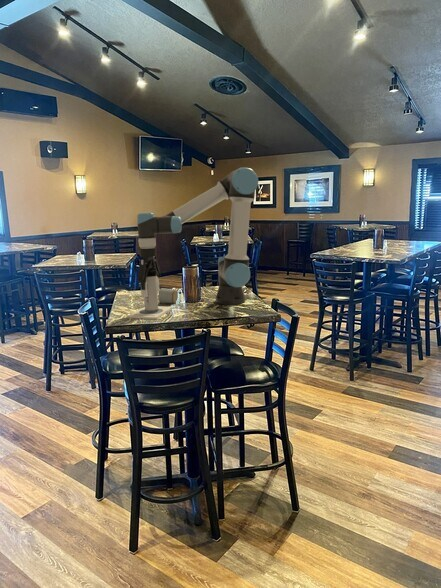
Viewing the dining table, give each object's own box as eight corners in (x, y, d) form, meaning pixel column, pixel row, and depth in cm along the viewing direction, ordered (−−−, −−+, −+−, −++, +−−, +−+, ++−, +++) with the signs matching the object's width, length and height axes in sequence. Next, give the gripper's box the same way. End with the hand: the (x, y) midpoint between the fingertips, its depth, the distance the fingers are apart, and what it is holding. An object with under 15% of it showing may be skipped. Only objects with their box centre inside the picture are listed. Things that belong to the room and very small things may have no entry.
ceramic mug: (173, 305, 218) (172, 289, 216) (158, 304, 220) (157, 289, 218) (180, 300, 228) (180, 286, 226) (166, 300, 230) (165, 285, 228)
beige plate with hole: (173, 308, 211) (173, 306, 210) (157, 319, 192) (156, 317, 192) (146, 307, 214) (146, 305, 214) (127, 317, 195) (127, 315, 195)
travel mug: (154, 308, 207) (152, 266, 203) (160, 311, 202) (158, 268, 198) (142, 310, 204) (140, 268, 200) (148, 313, 198) (146, 269, 194)
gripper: (151, 244, 209) (153, 288, 214) (127, 250, 186) (131, 299, 190) (165, 244, 208) (168, 288, 212) (143, 250, 184) (147, 299, 188)
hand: (150, 293), depth 201 cm, fingers open, 13 cm apart
